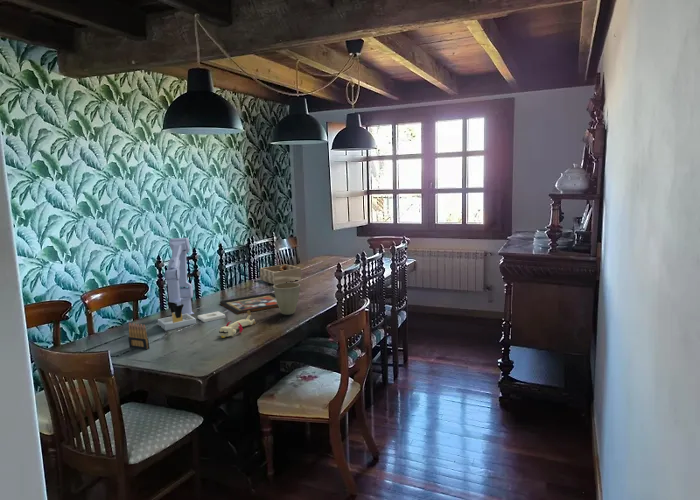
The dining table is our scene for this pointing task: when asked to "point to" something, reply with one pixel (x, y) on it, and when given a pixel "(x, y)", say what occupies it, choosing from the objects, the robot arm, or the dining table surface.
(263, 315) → the dining table surface
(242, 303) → the framed painting
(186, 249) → the robot arm
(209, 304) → the dining table surface
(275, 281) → the display box
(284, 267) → the bear figurine
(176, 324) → the parts tray
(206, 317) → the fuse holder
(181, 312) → the block
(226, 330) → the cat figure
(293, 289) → the plant pot
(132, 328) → the ammunition clip
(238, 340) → the dining table surface
